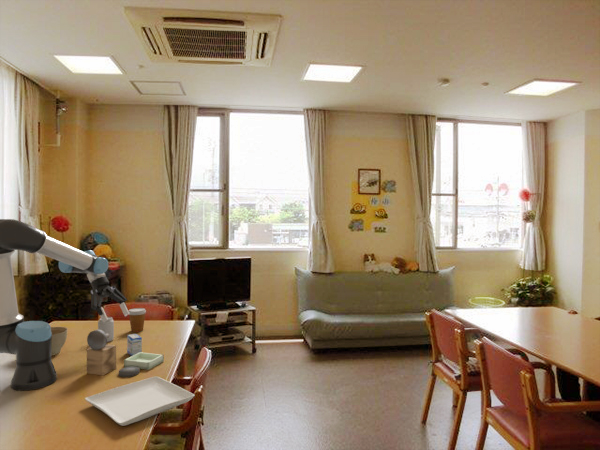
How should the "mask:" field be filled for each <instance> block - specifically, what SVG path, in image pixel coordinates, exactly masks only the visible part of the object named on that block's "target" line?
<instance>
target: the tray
mask: <svg viewBox="0 0 600 450" xmlns="http://www.w3.org/2000/svg"><path fill="white" fill-rule="evenodd" d="M164 359H165V358H164V354H159V353H152V352H151V353H150V352H143V351H142V352H139V353H137V354H135V355H133V356H131V355H130V357H127V358H125V359H124V360H123V368H125V367H139V370H140V369H141V370H147V371H148V370H151V369H153V368H154V367H156V366H158V365H160V364H162V363H163V362H164V361H165V360H164Z"/></svg>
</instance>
